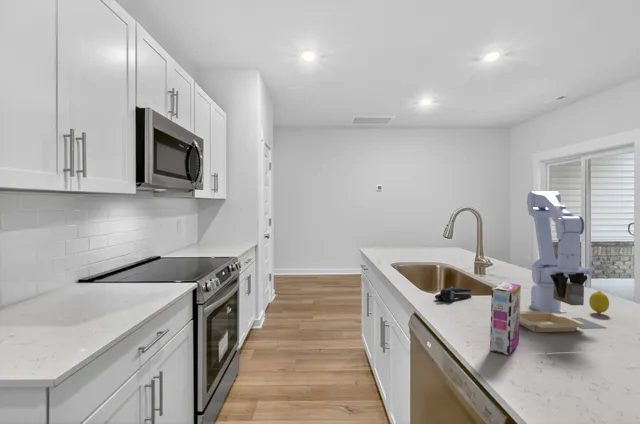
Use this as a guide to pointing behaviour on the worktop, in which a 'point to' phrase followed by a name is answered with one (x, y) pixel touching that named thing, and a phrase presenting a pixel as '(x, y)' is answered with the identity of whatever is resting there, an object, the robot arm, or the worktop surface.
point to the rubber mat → (588, 324)
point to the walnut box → (571, 294)
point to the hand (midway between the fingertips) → (567, 297)
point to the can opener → (452, 294)
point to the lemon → (599, 302)
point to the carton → (547, 321)
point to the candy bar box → (505, 318)
